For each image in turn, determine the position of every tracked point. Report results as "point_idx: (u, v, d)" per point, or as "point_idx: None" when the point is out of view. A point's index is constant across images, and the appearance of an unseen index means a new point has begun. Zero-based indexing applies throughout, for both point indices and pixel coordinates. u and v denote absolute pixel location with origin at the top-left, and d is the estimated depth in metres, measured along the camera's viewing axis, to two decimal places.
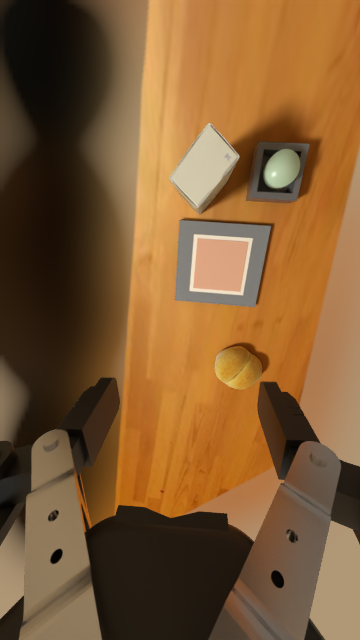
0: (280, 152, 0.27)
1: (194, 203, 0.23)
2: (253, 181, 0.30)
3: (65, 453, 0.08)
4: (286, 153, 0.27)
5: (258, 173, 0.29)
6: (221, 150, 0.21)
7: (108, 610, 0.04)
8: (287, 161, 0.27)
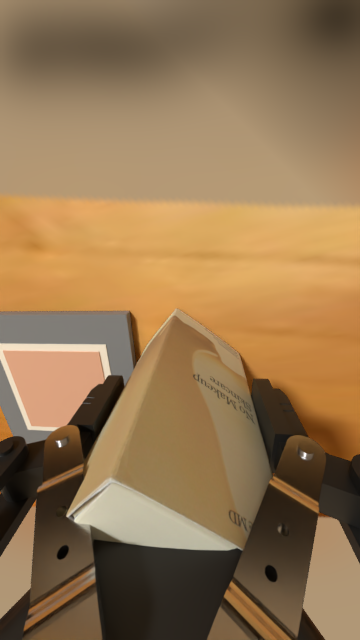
0: None
1: None
2: None
3: (76, 449, 0.08)
4: None
5: None
6: None
7: (111, 612, 0.04)
8: None
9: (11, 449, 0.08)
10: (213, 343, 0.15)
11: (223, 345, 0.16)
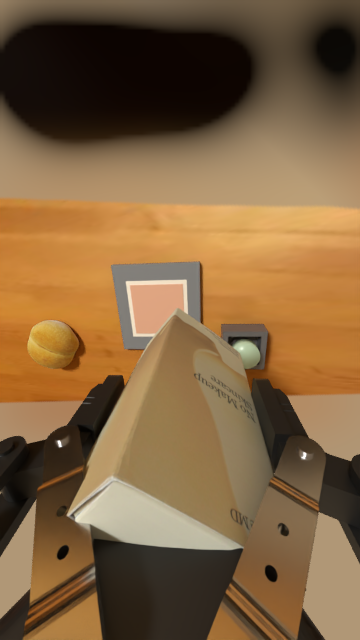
0: (257, 352, 0.31)
1: None
2: (236, 332, 0.32)
3: (76, 449, 0.08)
4: (256, 357, 0.31)
5: (242, 335, 0.32)
6: None
7: (111, 612, 0.04)
8: (250, 359, 0.31)
9: (11, 449, 0.08)
10: (214, 342, 0.15)
11: (224, 344, 0.16)
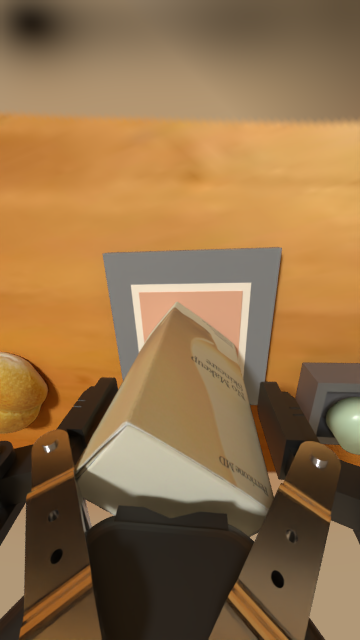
0: None
1: None
2: (345, 384, 0.17)
3: (65, 453, 0.08)
4: None
5: (357, 389, 0.17)
6: None
7: (108, 610, 0.04)
8: None
9: None
10: (210, 333, 0.16)
11: (219, 335, 0.17)
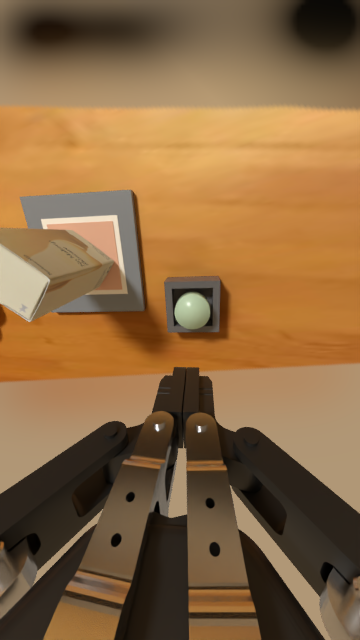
0: (206, 306, 0.24)
1: None
2: (181, 282, 0.25)
3: (164, 440, 0.08)
4: (206, 313, 0.25)
5: (189, 286, 0.25)
6: (26, 299, 0.16)
7: None
8: (198, 315, 0.25)
9: (116, 433, 0.08)
10: (88, 247, 0.25)
11: (99, 251, 0.25)
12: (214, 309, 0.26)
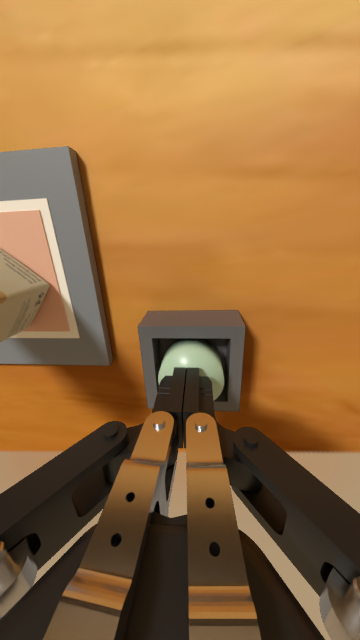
0: (217, 372, 0.13)
1: None
2: (169, 328, 0.13)
3: (164, 440, 0.08)
4: (216, 382, 0.13)
5: (186, 334, 0.13)
6: None
7: None
8: None
9: (116, 433, 0.08)
10: None
11: (15, 268, 0.14)
12: (232, 375, 0.14)
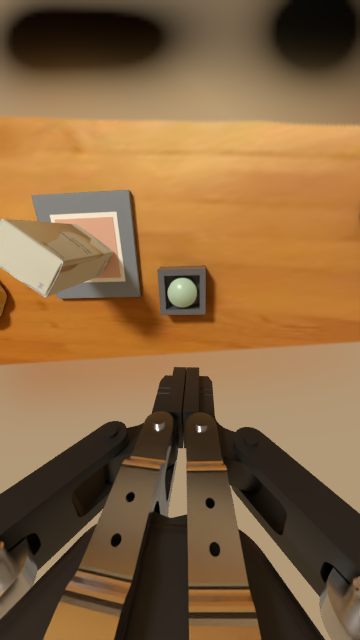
0: (193, 288, 0.30)
1: None
2: (172, 270, 0.29)
3: (164, 440, 0.08)
4: (193, 293, 0.30)
5: (179, 273, 0.29)
6: (43, 277, 0.20)
7: None
8: (187, 295, 0.30)
9: (116, 433, 0.08)
10: (91, 239, 0.28)
11: (100, 243, 0.29)
12: (201, 294, 0.30)
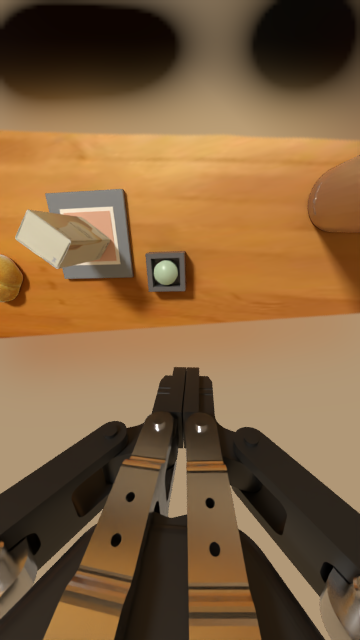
0: (174, 268, 0.37)
1: (17, 235, 0.27)
2: (157, 254, 0.36)
3: (164, 440, 0.08)
4: (174, 273, 0.37)
5: (163, 256, 0.36)
6: (56, 253, 0.27)
7: None
8: (169, 275, 0.37)
9: (116, 433, 0.08)
10: (92, 228, 0.36)
11: (100, 232, 0.36)
12: (181, 273, 0.37)
